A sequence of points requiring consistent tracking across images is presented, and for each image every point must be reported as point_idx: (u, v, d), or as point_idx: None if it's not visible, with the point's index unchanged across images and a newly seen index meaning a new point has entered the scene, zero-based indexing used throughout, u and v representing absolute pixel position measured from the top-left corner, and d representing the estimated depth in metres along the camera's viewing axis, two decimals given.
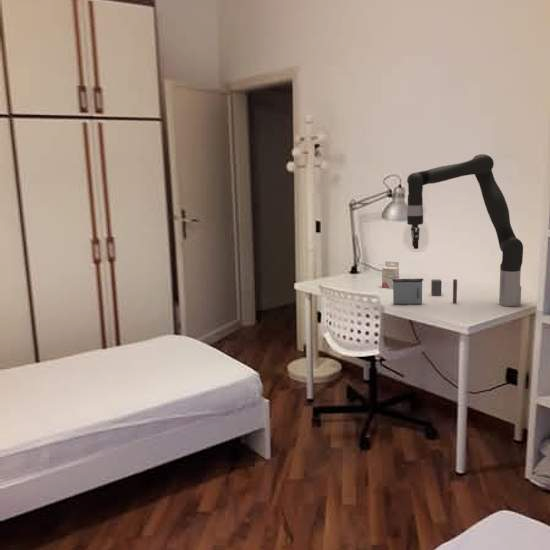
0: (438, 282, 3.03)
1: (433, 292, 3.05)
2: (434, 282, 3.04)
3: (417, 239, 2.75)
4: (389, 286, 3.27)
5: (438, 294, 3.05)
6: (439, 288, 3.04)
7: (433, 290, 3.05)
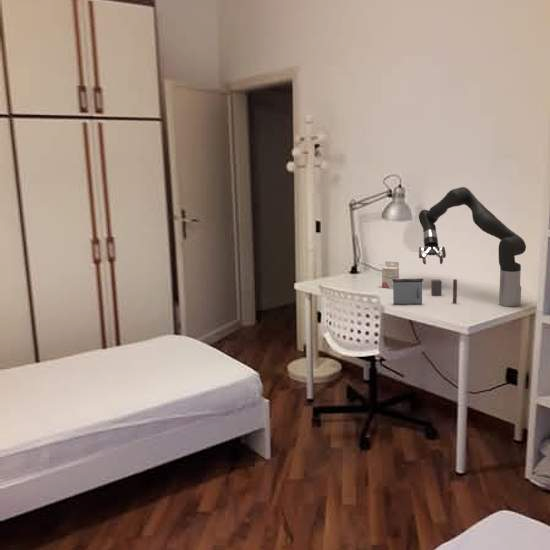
0: (438, 282, 3.03)
1: (433, 292, 3.05)
2: (434, 282, 3.04)
3: (419, 255, 3.18)
4: (389, 286, 3.27)
5: (438, 294, 3.05)
6: (439, 288, 3.04)
7: (433, 290, 3.05)
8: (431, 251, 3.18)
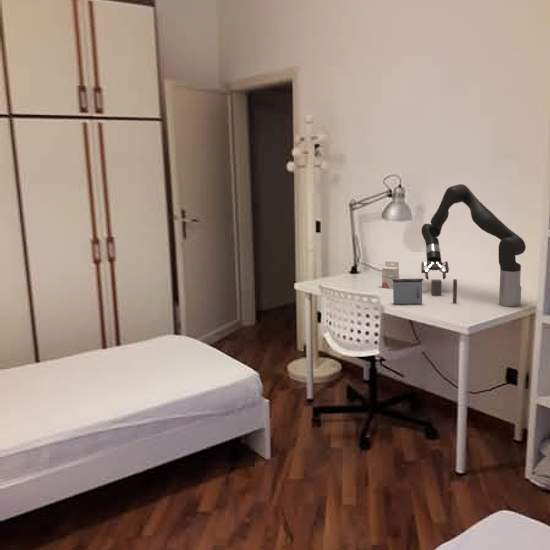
0: (438, 282, 3.03)
1: (433, 292, 3.05)
2: (434, 282, 3.04)
3: (421, 270, 3.12)
4: (389, 286, 3.27)
5: (438, 294, 3.05)
6: (439, 288, 3.04)
7: (433, 290, 3.05)
8: (434, 266, 3.12)
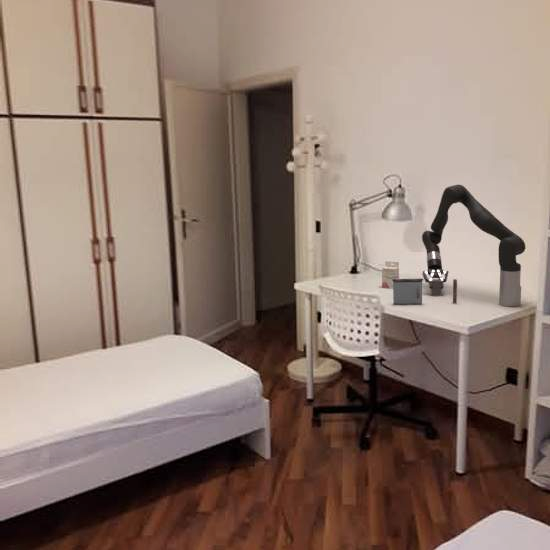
0: (438, 282, 3.03)
1: (433, 292, 3.05)
2: (434, 282, 3.04)
3: (425, 280, 3.07)
4: (389, 286, 3.27)
5: (438, 294, 3.05)
6: (439, 288, 3.04)
7: (433, 290, 3.05)
8: (435, 274, 3.08)
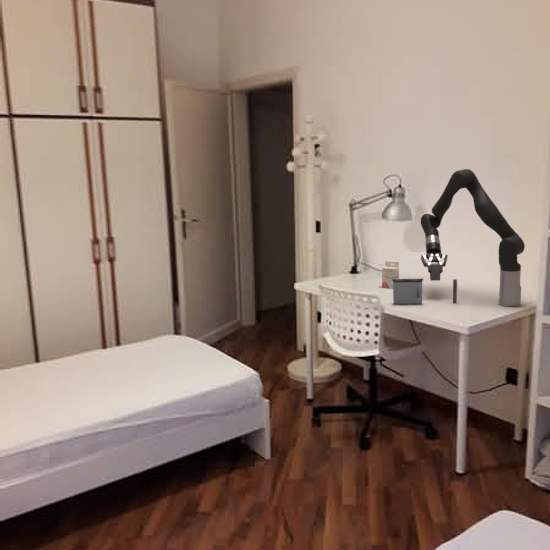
0: (437, 266, 2.94)
1: (432, 276, 2.95)
2: (433, 266, 2.94)
3: (424, 264, 2.98)
4: (389, 286, 3.27)
5: (437, 278, 2.95)
6: (438, 272, 2.95)
7: (432, 274, 2.95)
8: (433, 258, 2.99)
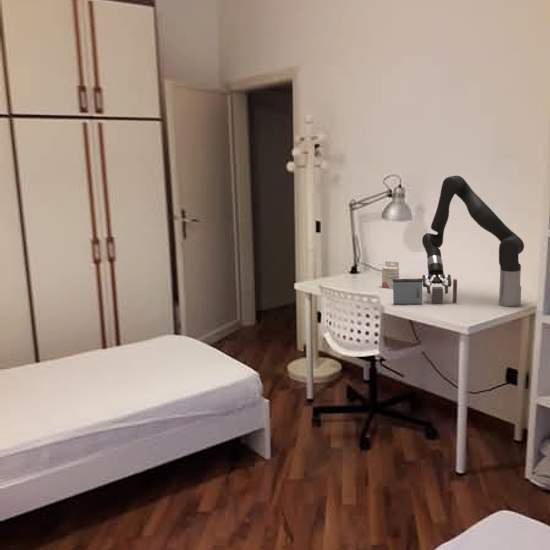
0: (439, 290, 2.86)
1: (434, 300, 2.88)
2: (435, 290, 2.86)
3: (423, 284, 2.91)
4: (389, 286, 3.27)
5: (439, 302, 2.87)
6: (441, 296, 2.87)
7: (434, 298, 2.87)
8: (436, 279, 2.91)
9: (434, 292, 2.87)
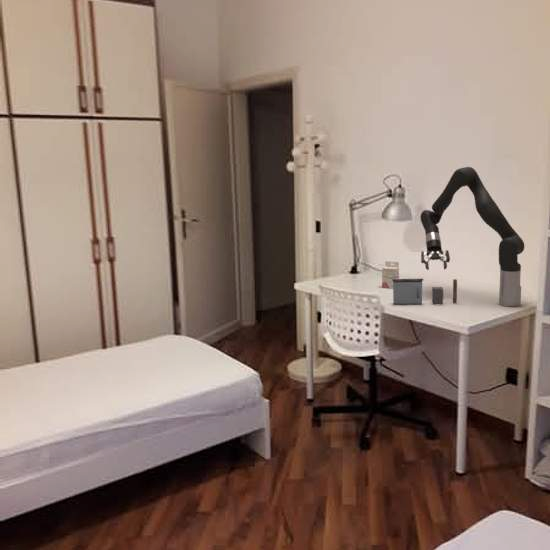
0: (439, 290, 2.86)
1: (434, 300, 2.88)
2: (435, 290, 2.86)
3: (421, 260, 2.99)
4: (389, 286, 3.27)
5: (439, 302, 2.87)
6: (441, 296, 2.87)
7: (434, 298, 2.87)
8: (434, 255, 2.99)
9: (434, 292, 2.87)
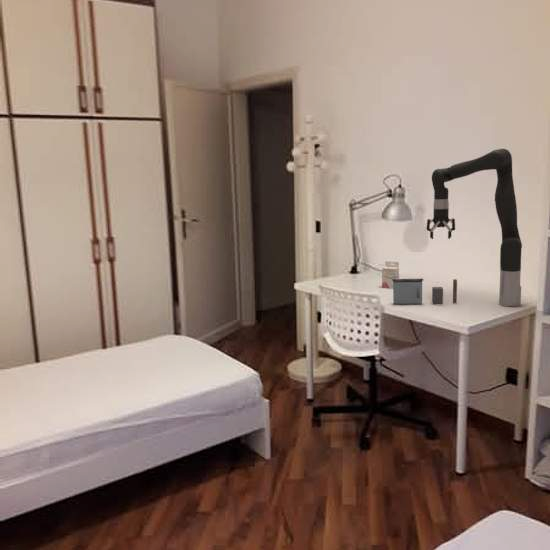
0: (439, 290, 2.86)
1: (434, 300, 2.88)
2: (435, 290, 2.86)
3: (427, 229, 3.01)
4: (389, 286, 3.27)
5: (439, 302, 2.87)
6: (441, 296, 2.87)
7: (434, 298, 2.87)
8: (440, 225, 2.99)
9: (434, 292, 2.87)
